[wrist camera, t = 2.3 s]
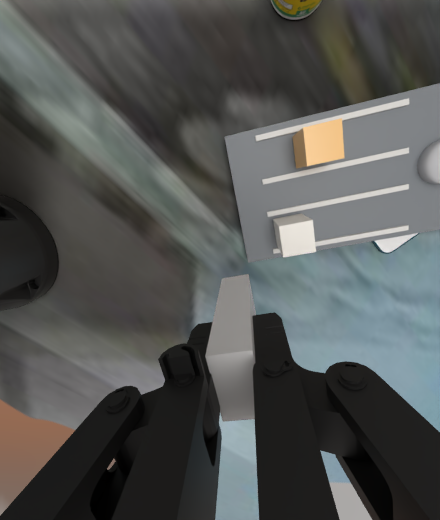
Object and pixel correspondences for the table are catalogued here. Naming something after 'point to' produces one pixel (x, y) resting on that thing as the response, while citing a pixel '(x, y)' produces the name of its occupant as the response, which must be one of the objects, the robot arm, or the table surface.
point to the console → (344, 175)
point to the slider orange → (319, 143)
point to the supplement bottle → (295, 8)
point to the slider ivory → (294, 235)
